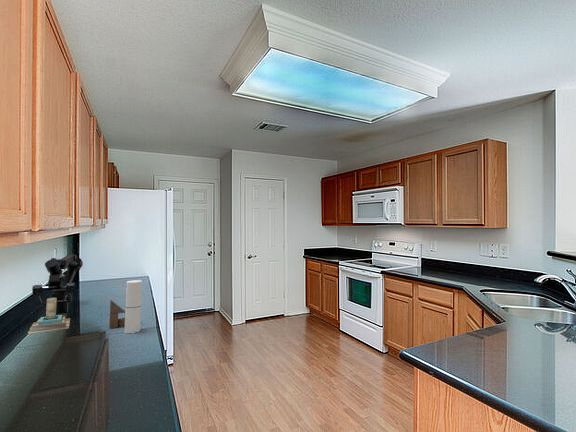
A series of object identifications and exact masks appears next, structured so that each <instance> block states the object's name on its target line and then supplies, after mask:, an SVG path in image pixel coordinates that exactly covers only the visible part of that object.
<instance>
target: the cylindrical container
mask: <svg viewBox="0 0 576 432" xmlns="http://www.w3.org/2000/svg"><path fill="white" fill-rule="evenodd" d="M125 290H126V291H125V304H126V307H125V309H124V311H125V313H124V318H125V326H124V334H127V333H131V334H136V333H135V332H137V333H139V332H141V324H142V323H141V321H142V320H141V319H142V318H141V317H142V298H143V297H142V295H143V294H142V293H143V280H142V279H141V280H140V279H136V280H135V279H134V280H133V279H132V280H127V281H126V287H125Z"/></svg>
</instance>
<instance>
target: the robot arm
mask: <svg viewBox="0 0 576 432" xmlns="http://www.w3.org/2000/svg"><path fill="white" fill-rule="evenodd" d="M83 266H84V262H83V260H82V258H80V257H78V255H77V254H74V253H73V254H72V253H71V254H66V255H65V256H64V257H62V258H56V257H51V259H49V260H47V261H45V262H44V267H45V269H46V271H47V273H49V277H48V281H47V286H43V284H34V285H32V290H31V291H32V296H36V297H38V298H39V300H40V303H41V304H43V303H44V295H43V292H46V291H53V292H52V294H51V298H57V300H56V315H61V314H67V313H69V309H68V306H69V305H68V304H69V303H71V302H72V299H73V297H72V293H74V292H76V283H75V282H73V279H74V278H75V275H76V273H77V272H79V271H80V270H81V269H82V267H83ZM63 270H66V273H63Z"/></svg>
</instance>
